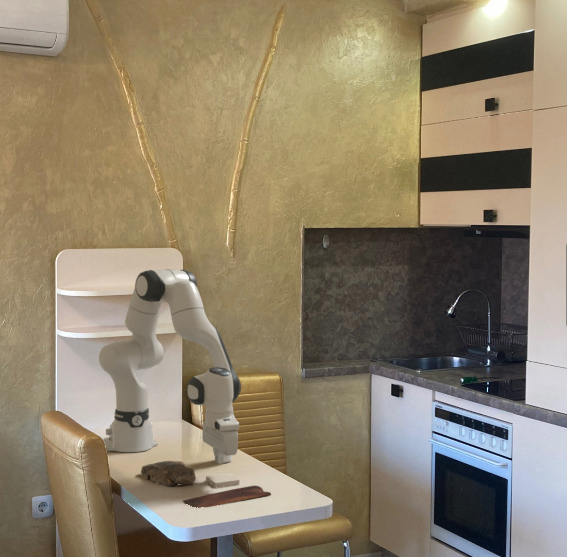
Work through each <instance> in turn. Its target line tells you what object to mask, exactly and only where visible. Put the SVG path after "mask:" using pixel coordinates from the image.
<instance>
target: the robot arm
mask: <svg viewBox="0 0 567 557" xmlns="http://www.w3.org/2000/svg"><path fill="white" fill-rule="evenodd" d="M134 283H135V284H134V289H133V292H132V295H131V297H130V300H129V305H128V308H127V311H126V316H125V318H124V319H125V320H124V324H125V327H126V328H127V330H128V331H130V333H131V334H132V336H131V338H130V339H129V340H122V341H115V342H111V343H109V344H107V345H104V346H103V347H101V349H100V351H99V353H98V354H99V355H98V362H99V365H100V367H101V368H102V370H104V371H105V372H106V373H107V374H108V375H109V376H110V377H111V379H112V381H113V383H114V387H115V388H114V389H115V396H116V397H115V400H116V401H115V403H116V404H115V405H116V408H115V409H114V420H113V421H112V423H111V424H110V425H109V428H106V429H105V435H106V437H104V438H103V440H104V442H105V445H106V448H105V450H106V449H107V450H106V451H107V452H118V453H119V452H121V453H137V452H138V453H139V452H143V451H145V452H146V451H148V450H150V449H152V448H153V447H155V446H158V441H155V440H154V427H153V422H151V420H150V419H149V418H150V409H149V407H148V403H149V402H148V386H147V385H146V384H145V383H144V382H142V381H141V380H139V379H138V376H137V371H139V370H146V369H150V368H152V367H155V366H157V365H160V363H161V362H162V361H163V359H164V353H165V352H164V348H163V345H162V343H161V341H159V340H158V338H157V325H158V321H159V317H160V313H161V310H162V306H163V303H168V306H169V311H170V312H169V313H170V316H171V321H172V322H171V323H172V325H173V328H174V330H175V333H177V335H178V336H180V337H181V338H182V339H184V340H186V341H190V342H191V343H196V344H199V345H200V346H202V347H204V348H205V349H206V350H207V351H208V352H209V354H210V357H211V360H212V362H213V365H214V367H210V368H209V369H207V371H206V372H204V373H202V374H198V375H194V376H192V377H191V378H190V379H189V380H188V382H187V384H186V396H187V399H188V400H189V401H190V403H192V404H193V405H195V406H205V409H204V411H205V419H204V421H203V424H202V436H201V437H202V442H203V443H205V444H206V445H208V446H210V447H211V448H212V451H213V455H214V462H215V463H217V464H218V465H219V464H221V465H222V464H224V463H223V462H224V456H225V455H226V456H229V455H232V456H235V455H237V453H238V449H239V448H238V446H239V434H238V430H240V422H239V421H238V420H237V418H236V416H235V414H234V405H233V403H234V402H235V401H236V400H237V399H238V397H239V396H240V394H241V391H242V383H241V381H240V379H239V376H238V373H236V371H235V368H234V367H233V365H232V362H231V359H230V356H229V353H228V351H227V349H226V346H225V344H224V341H223V338H222V336H221V334H220V332H219V330H218V328H217V327H216V326H214V325H213V324H212V323H211V322H210V320H209V319H208V316H207V315H206V311H205V308H204V304H203V299H202V297H201V294H200V292H199V288H198V284H197V279H196V276H195V274H194V273H193V272H191V271H189V270H185V269H174V268H165V269H155V270H153V269H149V270H144V271H142V272H140V273H139V274H138V275H137V277H136V279H135V282H134ZM103 440H102V441H103ZM104 442H103V443H104ZM105 445H104V446H105Z"/></svg>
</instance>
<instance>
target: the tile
mask: <svg viewBox="0 0 567 557" xmlns="http://www.w3.org/2000/svg"><path fill="white" fill-rule="evenodd" d="M207 481H208V482H209V484H210V483H211V484H212V485H213V486H212V485H211V484H210V485H211V486H212V487H214V488H215V487H218V488H224V487H223V486H225V487H231V485H233V486H238V484H239V485H240V479H239V478H237V477H236V476H234V475H233V474H232V473H230V472H226V473H219V474H210V475H206V476H205V482H207ZM208 482H207V483H208Z"/></svg>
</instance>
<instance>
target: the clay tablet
mask: <svg viewBox="0 0 567 557" xmlns="http://www.w3.org/2000/svg"><path fill="white" fill-rule="evenodd" d="M140 473H141V475H142V476H143V477H144V478H145V479H146V478H147V479H146V480H150V481H151V482H153V483H154V484H155V483H158V484H157V485H162V484H163V486H164V485H166V486H165V487H172V486H174V485H177V486H179V485H178V484H184V485H192V484H193V483H194V482H195V481H196V479H197V478H196V473H195V470H194V469H193V468H190V467H188V466H187V464H186V463H185V462H183V461H179V460H165V461H158V462H155V463H149V464H146V465H143V466H142V467H141V471H140Z"/></svg>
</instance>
